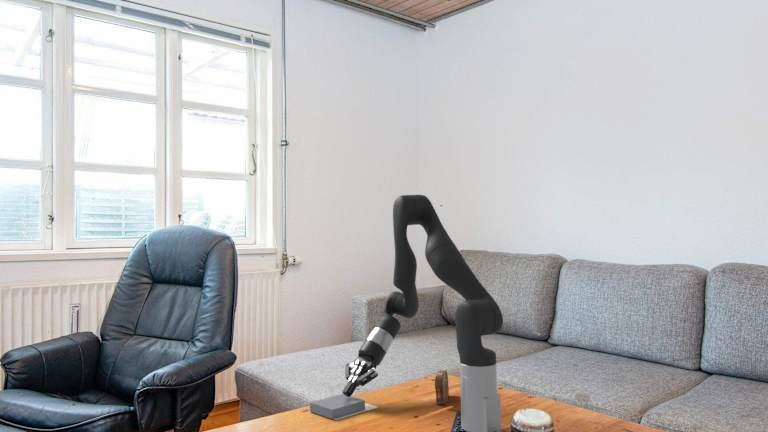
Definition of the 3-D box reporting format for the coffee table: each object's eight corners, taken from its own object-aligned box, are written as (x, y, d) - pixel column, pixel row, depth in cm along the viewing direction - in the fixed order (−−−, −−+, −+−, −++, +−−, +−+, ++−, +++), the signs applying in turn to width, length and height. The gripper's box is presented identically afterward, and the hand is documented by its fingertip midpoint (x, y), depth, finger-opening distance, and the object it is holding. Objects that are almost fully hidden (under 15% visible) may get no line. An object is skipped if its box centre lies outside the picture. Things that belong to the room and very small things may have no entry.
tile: (364, 400, 159) (332, 409, 151) (365, 409, 159) (332, 419, 150) (342, 393, 166) (310, 402, 158) (342, 402, 166) (310, 411, 158)
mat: (378, 409, 161) (378, 407, 161) (335, 422, 150) (335, 420, 150) (351, 401, 170) (351, 399, 170) (309, 412, 159) (309, 410, 159)
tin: (445, 408, 161) (444, 379, 161) (434, 408, 162) (433, 379, 162) (449, 394, 176) (448, 367, 176) (439, 394, 176) (439, 367, 177)
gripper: (355, 336, 173) (324, 383, 164) (384, 341, 163) (353, 392, 154) (367, 350, 176) (338, 398, 167) (397, 356, 167) (368, 407, 158)
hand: (345, 395), depth 161 cm, fingers closed
